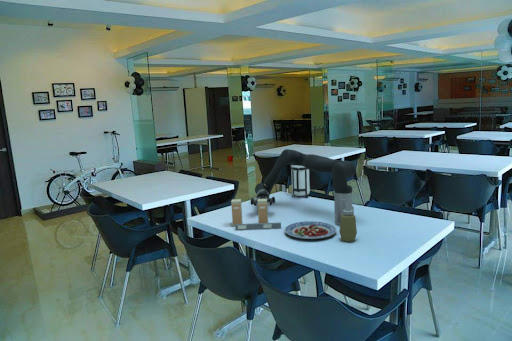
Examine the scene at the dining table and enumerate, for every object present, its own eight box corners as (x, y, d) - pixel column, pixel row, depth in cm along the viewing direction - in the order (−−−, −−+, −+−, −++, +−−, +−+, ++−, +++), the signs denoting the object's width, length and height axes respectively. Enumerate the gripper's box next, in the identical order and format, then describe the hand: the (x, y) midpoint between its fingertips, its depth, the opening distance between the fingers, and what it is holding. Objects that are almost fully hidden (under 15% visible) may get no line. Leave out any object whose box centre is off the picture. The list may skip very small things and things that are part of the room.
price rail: (281, 227, 208) (280, 222, 208) (281, 228, 207) (280, 223, 206) (235, 229, 209) (235, 224, 209) (235, 230, 208) (235, 225, 207)
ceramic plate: (320, 222, 215) (320, 217, 215) (346, 237, 191) (346, 231, 191) (276, 229, 206) (276, 224, 206) (298, 246, 183) (298, 239, 182)
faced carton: (233, 223, 219) (232, 199, 216) (242, 223, 219) (241, 199, 216) (232, 226, 214) (231, 201, 211) (241, 226, 214) (240, 201, 211)
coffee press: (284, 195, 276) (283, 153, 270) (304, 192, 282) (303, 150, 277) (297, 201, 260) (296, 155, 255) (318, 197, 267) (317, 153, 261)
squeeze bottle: (344, 235, 192) (344, 199, 189) (359, 238, 187) (359, 202, 184) (336, 240, 186) (335, 203, 183) (352, 244, 181) (352, 206, 178)
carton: (258, 223, 217) (257, 198, 215) (268, 223, 217) (266, 198, 215) (258, 226, 212) (257, 201, 210) (268, 226, 212) (266, 201, 209)
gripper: (250, 191, 239) (250, 198, 224) (274, 190, 239) (275, 196, 223) (251, 203, 241) (250, 211, 225) (275, 202, 240) (275, 209, 225)
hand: (262, 204), depth 224 cm, fingers open, 8 cm apart
